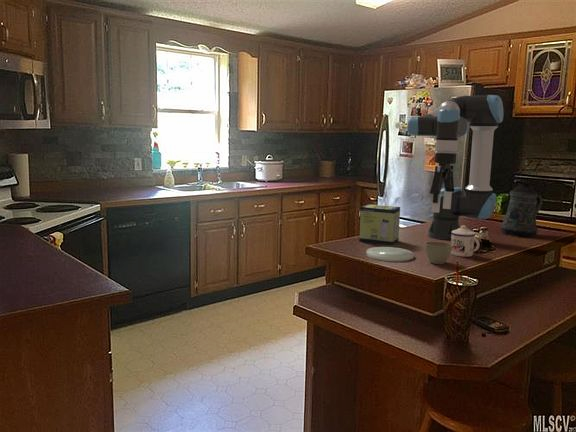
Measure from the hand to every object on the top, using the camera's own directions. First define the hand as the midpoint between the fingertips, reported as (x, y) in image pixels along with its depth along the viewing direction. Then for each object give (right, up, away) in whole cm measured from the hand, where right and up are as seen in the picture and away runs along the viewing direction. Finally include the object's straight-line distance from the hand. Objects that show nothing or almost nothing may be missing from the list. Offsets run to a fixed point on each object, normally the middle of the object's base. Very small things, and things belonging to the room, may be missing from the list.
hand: (441, 210), depth 185 cm
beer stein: (+58, -11, +64) cm, 87 cm away
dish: (-17, -18, +11) cm, 27 cm away
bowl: (0, -20, +3) cm, 20 cm away
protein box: (-16, -13, +38) cm, 44 cm away
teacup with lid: (+14, -18, +16) cm, 28 cm away
